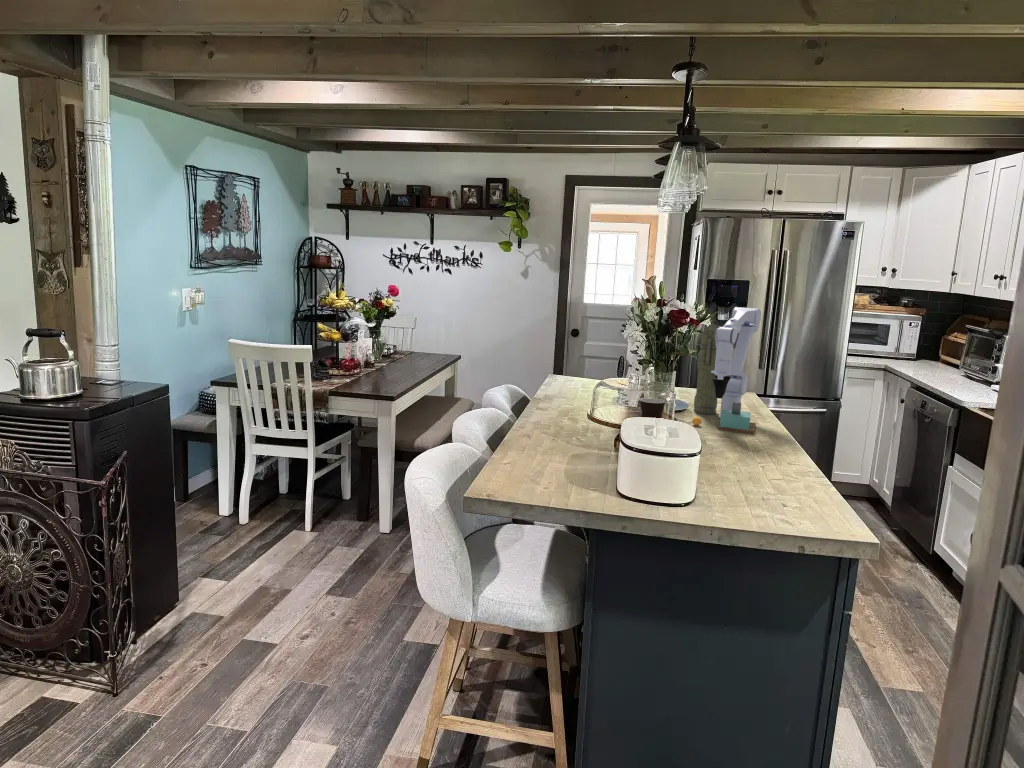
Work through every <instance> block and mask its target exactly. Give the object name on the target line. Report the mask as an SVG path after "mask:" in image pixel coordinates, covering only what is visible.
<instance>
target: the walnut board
mask: <svg viewBox="0 0 1024 768" xmlns="http://www.w3.org/2000/svg"><path fill="white" fill-rule="evenodd" d="M756 425H757V424H756V422H750V426H749V430H745V429H735V428H726V427H720V424H719V425H718V431H722V432H723V431H725V432H726V431H727V432H732V433H733V432H735V433H742V434H749V435H754V434H755V430H756Z"/></svg>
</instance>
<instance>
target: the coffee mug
mask: <svg viewBox="0 0 1024 768" xmlns="http://www.w3.org/2000/svg"><path fill="white" fill-rule="evenodd" d="M639 401H640V404H639V405H640V418H641V417H656V418H663V414H664V408H665V403H666V401H665V400H664V399H662V398H661V399H660V398H656V397H655V398H654V397H653V398H652V397H645V398H644V397H643V398H640V400H639Z"/></svg>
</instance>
